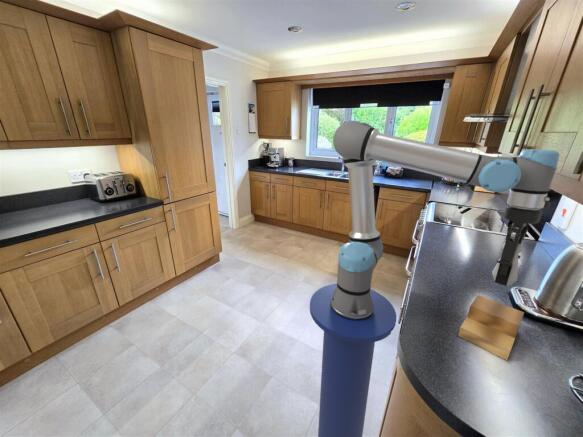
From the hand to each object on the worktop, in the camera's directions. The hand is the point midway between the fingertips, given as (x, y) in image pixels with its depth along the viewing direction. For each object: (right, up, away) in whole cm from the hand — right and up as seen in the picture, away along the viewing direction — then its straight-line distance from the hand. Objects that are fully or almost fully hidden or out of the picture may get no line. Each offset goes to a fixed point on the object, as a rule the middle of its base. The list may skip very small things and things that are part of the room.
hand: (502, 279), depth 74 cm
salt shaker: (0, -1, 0) cm, 1 cm away
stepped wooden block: (-2, -18, +3) cm, 19 cm away
